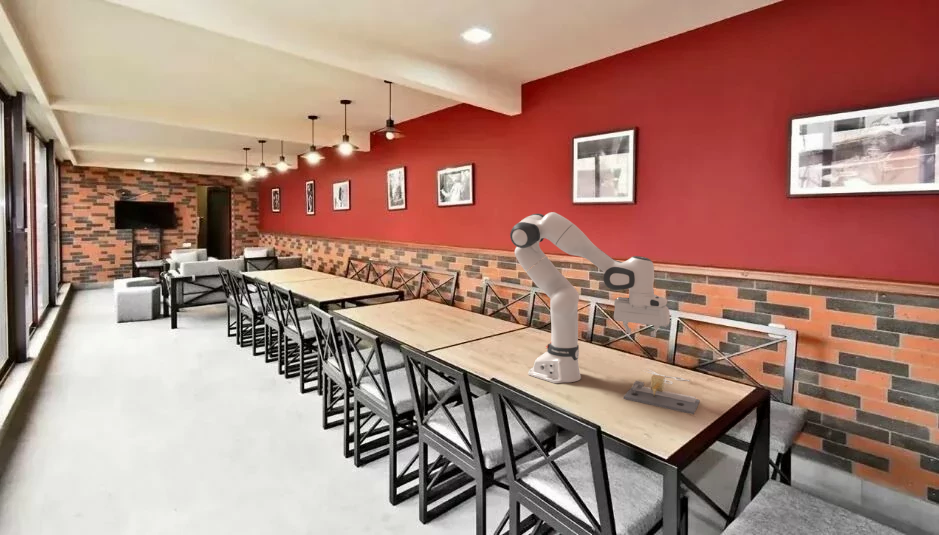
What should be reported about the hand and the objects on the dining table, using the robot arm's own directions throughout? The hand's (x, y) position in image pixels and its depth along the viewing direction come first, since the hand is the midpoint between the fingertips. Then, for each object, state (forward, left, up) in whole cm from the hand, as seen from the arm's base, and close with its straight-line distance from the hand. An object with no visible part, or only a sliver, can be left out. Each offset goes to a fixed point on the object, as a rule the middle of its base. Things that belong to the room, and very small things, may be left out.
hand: (640, 334), depth 172 cm
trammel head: (+7, -2, -21) cm, 23 cm away
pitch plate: (+9, -3, -23) cm, 25 cm away
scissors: (+3, +24, -24) cm, 34 cm away
